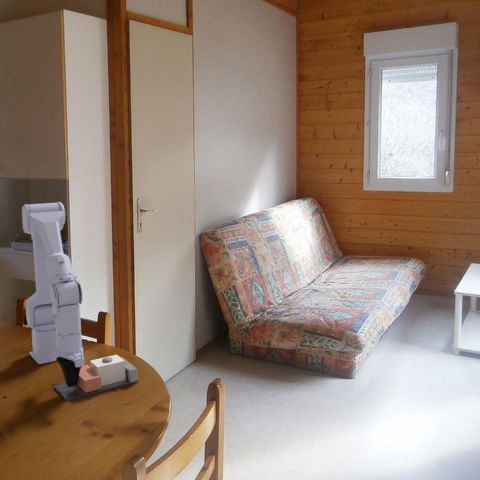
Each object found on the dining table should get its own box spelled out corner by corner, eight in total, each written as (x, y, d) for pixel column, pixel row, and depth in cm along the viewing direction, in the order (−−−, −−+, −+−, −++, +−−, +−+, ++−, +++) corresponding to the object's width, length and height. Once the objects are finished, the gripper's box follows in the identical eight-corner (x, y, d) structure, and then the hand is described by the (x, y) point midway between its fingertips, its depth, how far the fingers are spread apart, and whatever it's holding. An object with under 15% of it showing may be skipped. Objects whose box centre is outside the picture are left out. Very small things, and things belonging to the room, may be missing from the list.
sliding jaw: (72, 379, 146) (71, 368, 145) (88, 375, 148) (87, 364, 147) (85, 392, 138) (84, 380, 138) (101, 388, 140) (100, 376, 140)
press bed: (54, 387, 143) (53, 373, 142) (123, 370, 153) (122, 357, 152) (66, 401, 136) (65, 387, 135) (137, 382, 146) (137, 368, 145)
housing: (91, 379, 146) (89, 359, 145) (117, 373, 150) (116, 353, 149) (98, 386, 142) (97, 365, 141) (125, 379, 146) (124, 359, 145)
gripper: (42, 326, 142) (46, 379, 145) (61, 344, 130) (65, 401, 133) (71, 320, 146) (74, 372, 148) (92, 337, 134) (95, 393, 137)
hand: (71, 385), depth 141 cm, fingers closed, pressing on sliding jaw
